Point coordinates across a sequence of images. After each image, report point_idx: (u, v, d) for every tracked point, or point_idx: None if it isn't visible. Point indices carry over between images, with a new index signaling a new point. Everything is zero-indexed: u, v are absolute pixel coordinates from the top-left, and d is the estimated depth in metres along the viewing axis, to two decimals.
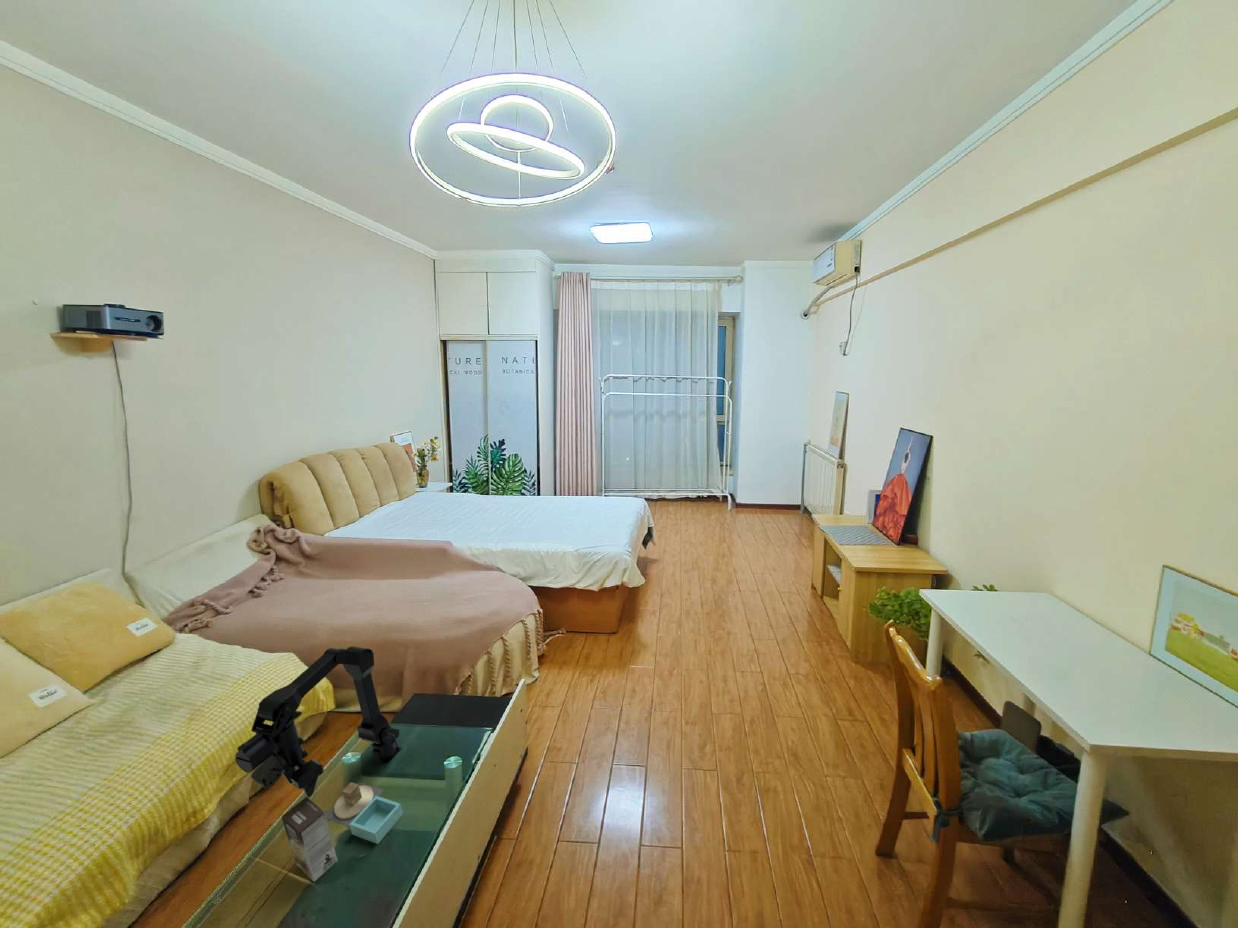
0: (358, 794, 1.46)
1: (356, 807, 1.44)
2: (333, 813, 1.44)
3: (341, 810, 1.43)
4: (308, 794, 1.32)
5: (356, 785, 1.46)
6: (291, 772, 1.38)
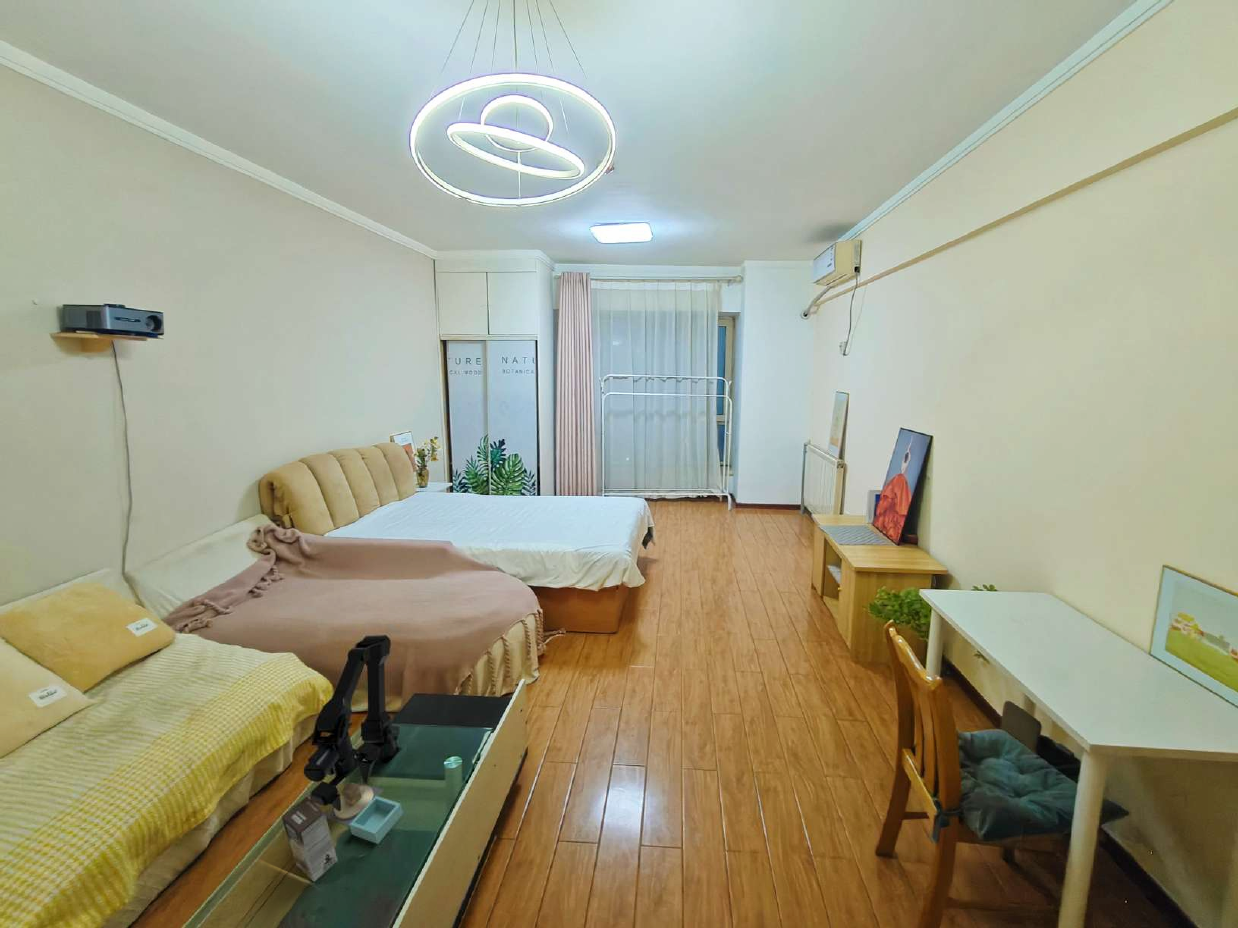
0: (358, 794, 1.46)
1: (356, 807, 1.44)
2: (333, 813, 1.44)
3: (341, 810, 1.43)
4: (335, 807, 1.41)
5: (356, 785, 1.46)
6: (364, 775, 1.49)
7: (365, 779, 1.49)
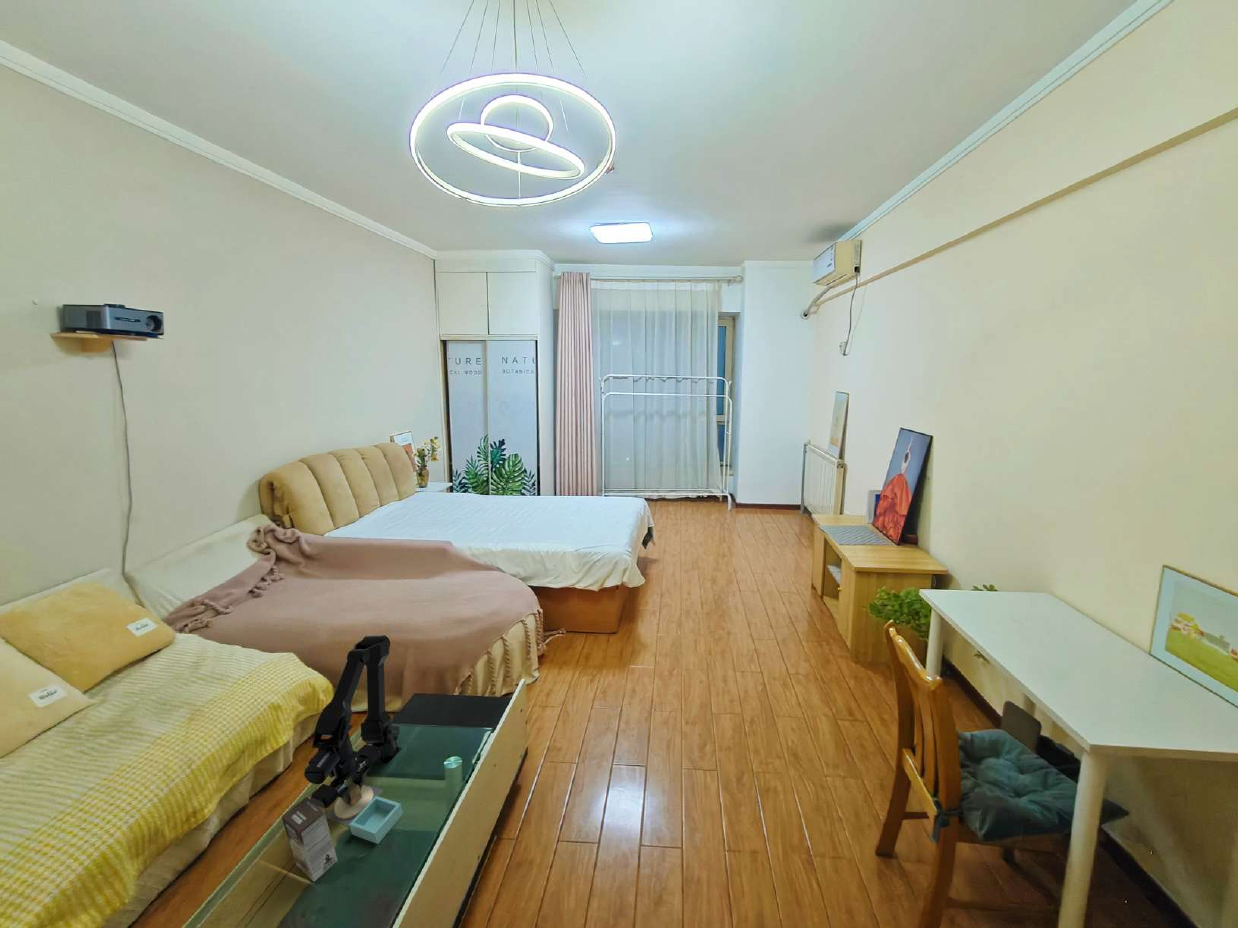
0: (358, 794, 1.46)
1: (356, 807, 1.44)
2: (333, 813, 1.44)
3: (341, 810, 1.43)
4: (344, 801, 1.44)
5: (356, 785, 1.46)
6: None
7: None
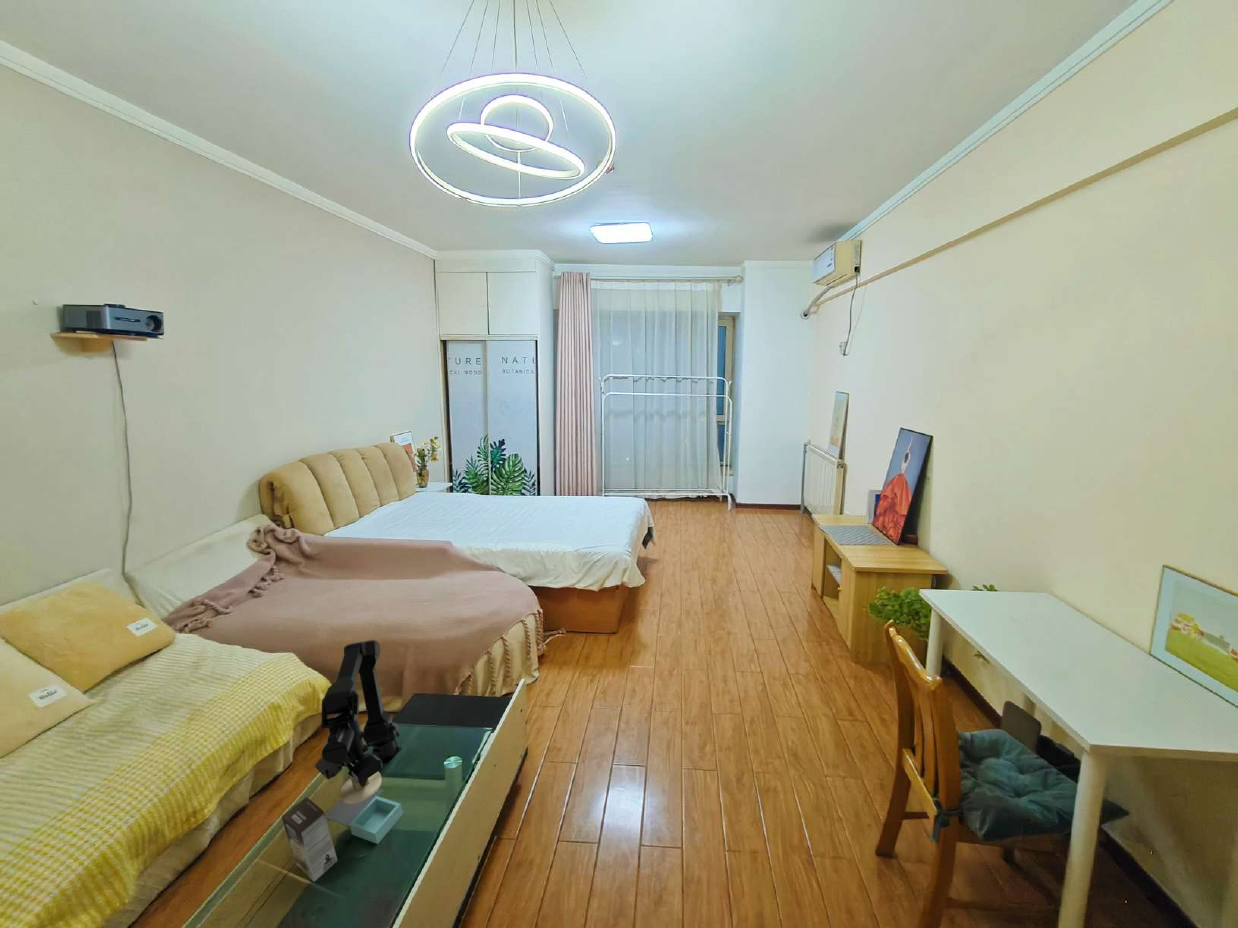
0: None
1: (374, 780, 1.39)
2: (333, 813, 1.44)
3: (365, 792, 1.35)
4: (361, 784, 1.35)
5: None
6: None
7: None
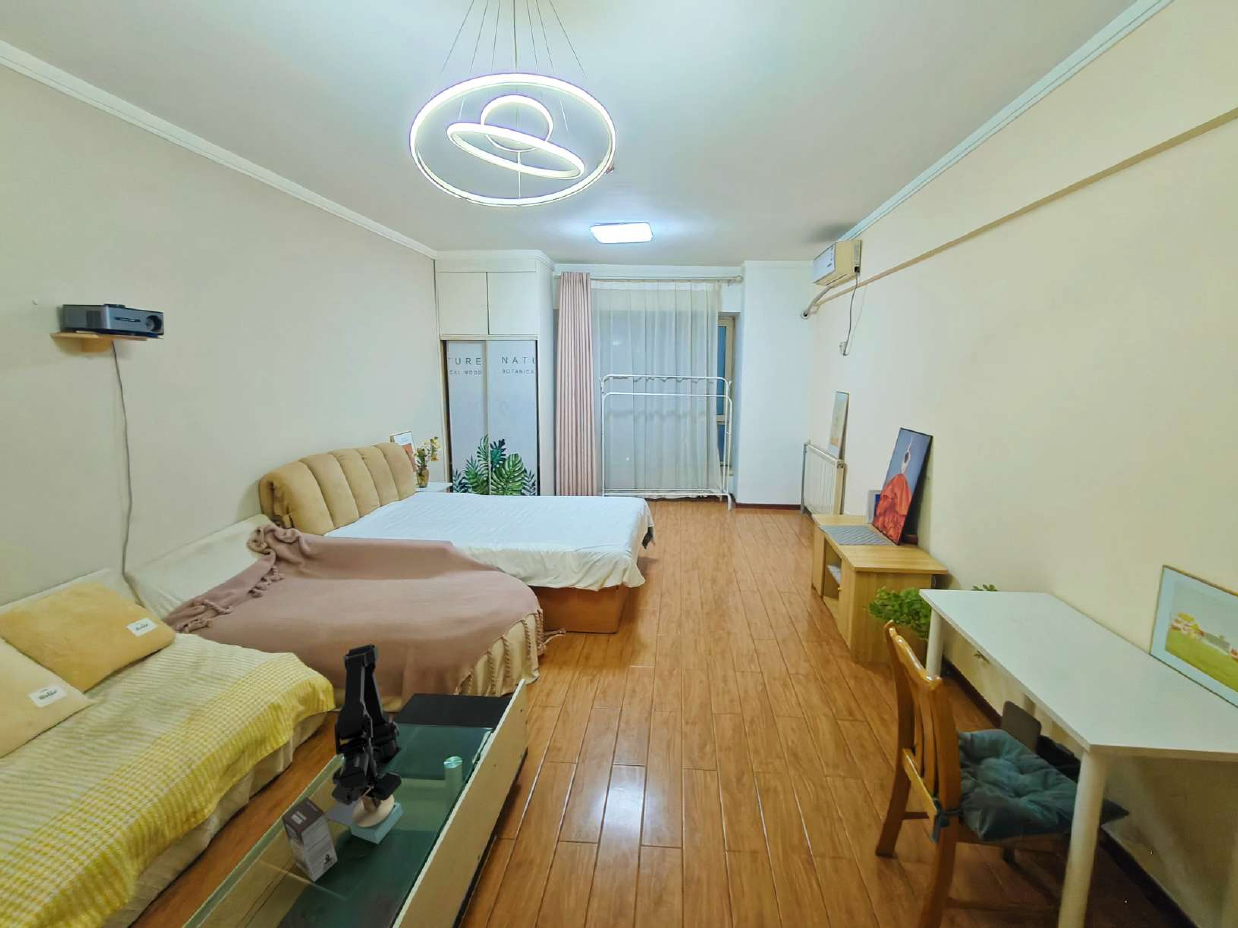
0: None
1: None
2: (333, 813, 1.44)
3: (382, 811, 1.36)
4: (377, 804, 1.36)
5: (370, 789, 1.38)
6: None
7: None
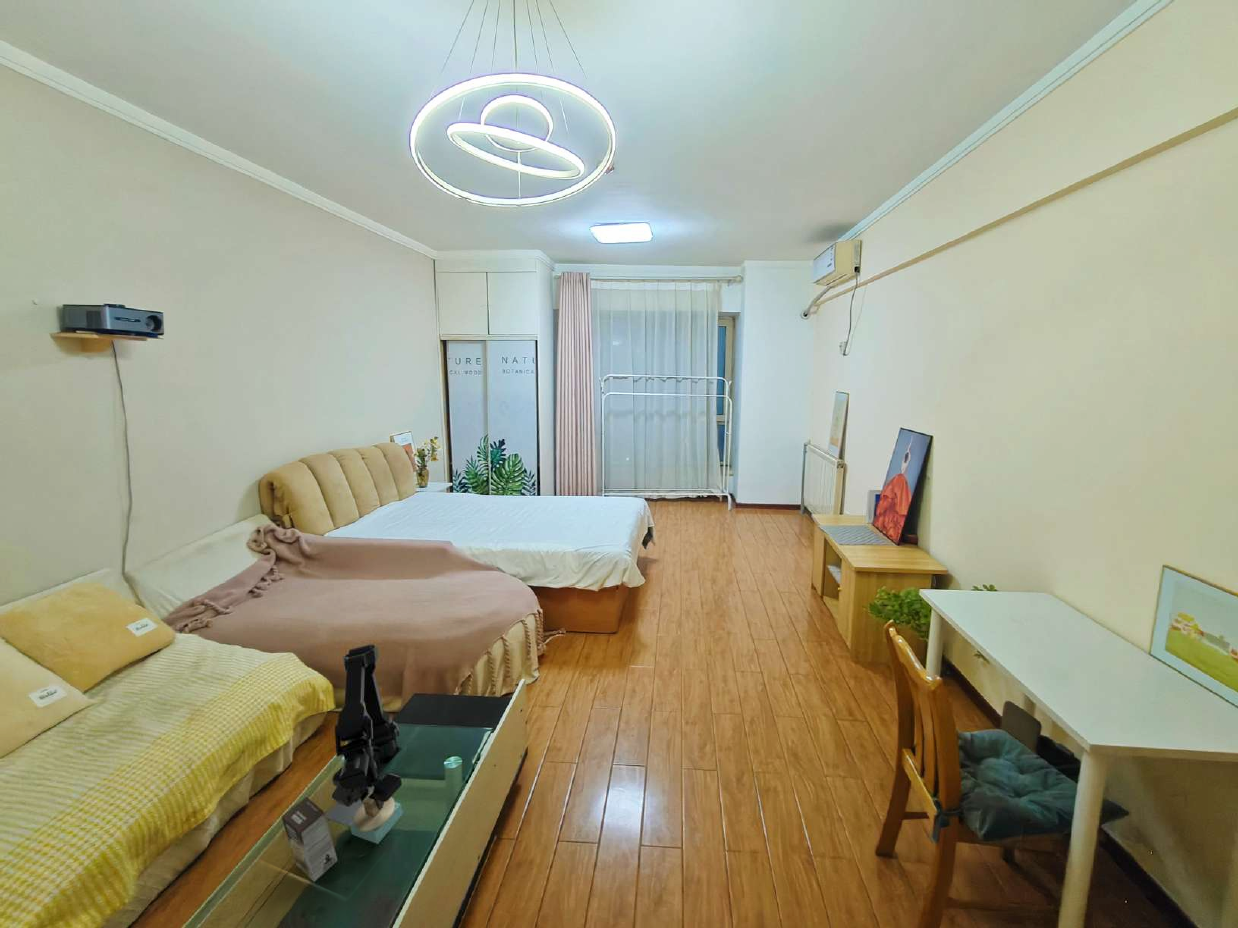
0: None
1: (387, 803, 1.40)
2: (333, 813, 1.44)
3: (383, 815, 1.36)
4: (380, 806, 1.36)
5: (371, 793, 1.38)
6: (365, 793, 1.38)
7: None
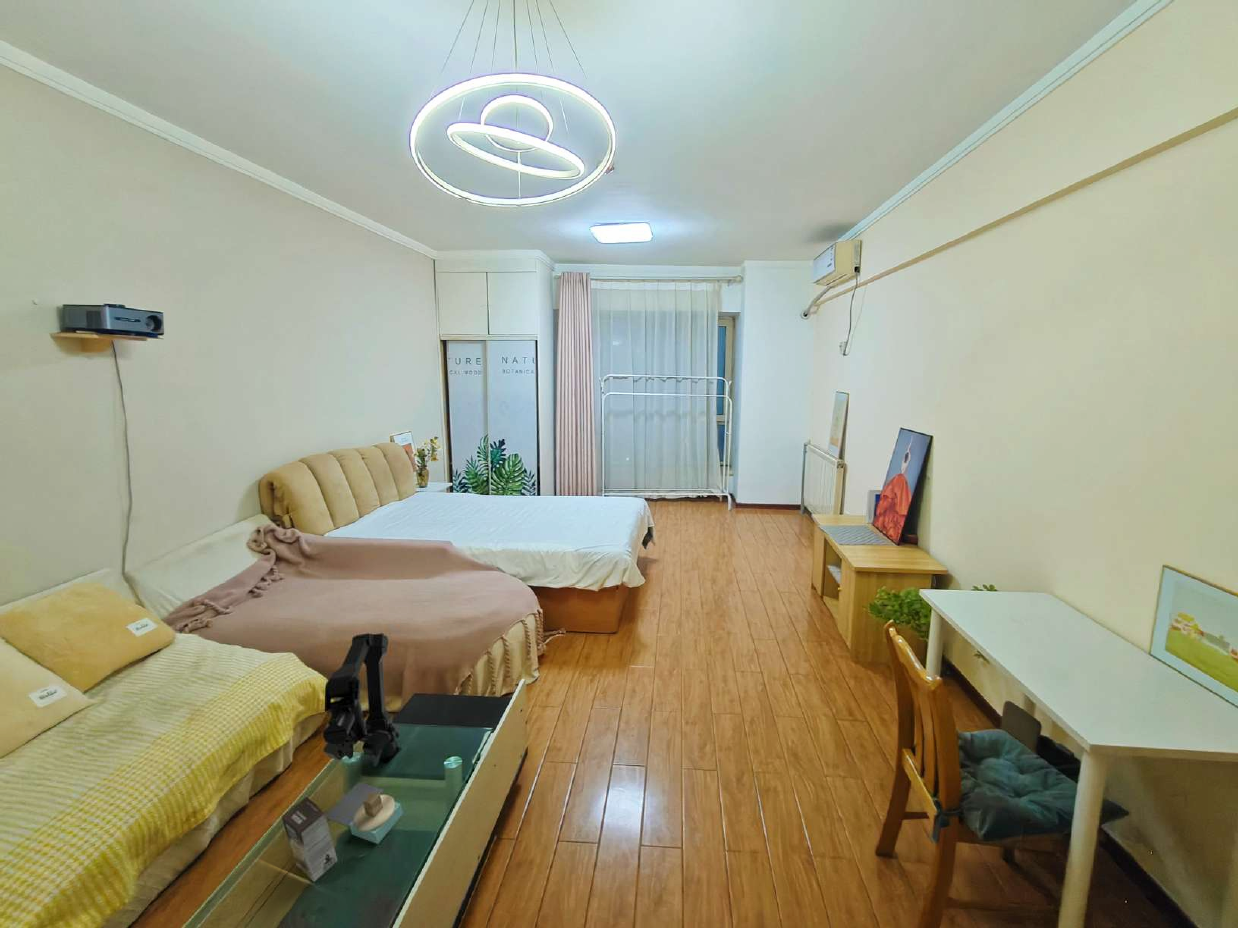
0: None
1: (387, 803, 1.40)
2: (333, 813, 1.44)
3: (383, 815, 1.36)
4: (375, 763, 1.43)
5: (371, 793, 1.38)
6: None
7: (351, 752, 1.47)
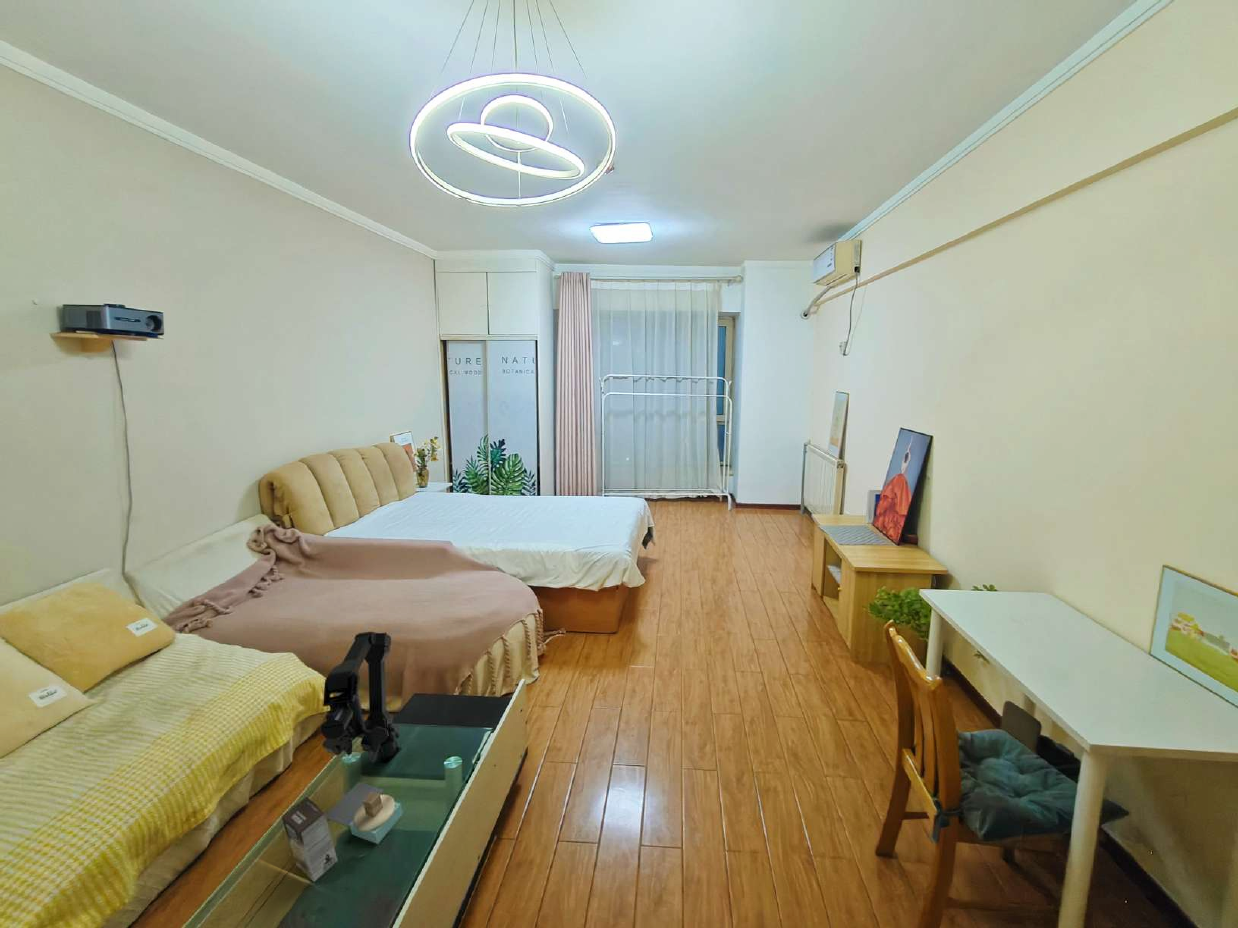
0: None
1: (387, 803, 1.40)
2: (333, 813, 1.44)
3: (383, 815, 1.36)
4: (373, 759, 1.43)
5: (371, 793, 1.38)
6: None
7: (350, 748, 1.48)
